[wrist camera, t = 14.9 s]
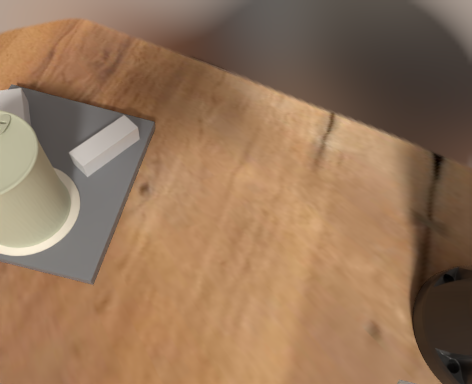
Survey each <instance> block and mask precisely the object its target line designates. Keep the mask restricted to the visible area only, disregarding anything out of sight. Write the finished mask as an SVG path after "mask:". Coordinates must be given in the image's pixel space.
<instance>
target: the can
mask: <svg viewBox="0 0 472 384" xmlns="http://www.w3.org/2000/svg"><path fill="white" fill-rule="evenodd" d="M70 207H71V199H70V194H69V192H68V189H67V188H66V186H65V185H64V183H63V182H62V181H61V180H60V179H59V177H58V175H57V174H56V172H55V170H54V168H53V167H52V165H51V163H50V161H49V159H48V158H47V156H46V154H45V152H44V150H43V148H42V147H41V145H40V143H39V141H38V139H37V136H36V134H35V132H34V130H33V129H32V127H31V126H30V125H29V124H28V123H27V122H26V121H25V120H23V119H22V118H20V117H19V116H17V115H15V114H12V113H10V112H6V111H2V110H0V245H3V246H6V247H12V248H24V247H30V246H34V245H37V244H40V243H42V242H44V241H46V240H47V239H49V238H51V237H52V236H53V235H54V234H56V233H57V232H58V231H59V230H60V229H61V227H62V226H63V225H64V223H65V222H66V220H67V218H68V215H69V212H70Z"/></svg>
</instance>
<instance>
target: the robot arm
mask: <svg viewBox="0 0 472 384" xmlns="http://www.w3.org/2000/svg"><path fill="white" fill-rule="evenodd" d="M413 324H414V331H415V336H416V340H417V343H418V346H419V349H420V351H421V353H422V355H423V357H424V359H425V361H426V363H427V365H428V366H429V368H430V369H431V371H432V372H433V373H434V375H435V376H436V377H437V378H438V379H439V380H440V381H441V383H442V384H472V266H458V267H453V268H450V269H448V270H445V271H443V272H440V273H438V274H436V275H434V276H433V277H431V278H430V279H429V280H428V281H427V282H426V283H425V284H424V285H423V286H422V288H421V289H420V291H419V293H418V295H417V298H416V301H415V305H414V312H413ZM397 384H415V383H411V382H407V381H403V380H399V381H398V383H397Z"/></svg>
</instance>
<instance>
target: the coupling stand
mask: <svg viewBox="0 0 472 384" xmlns="http://www.w3.org/2000/svg"><path fill="white" fill-rule="evenodd" d="M0 110H2V111H6V112H10V113H12V114H15V115H17V116H19V117H20V118H22V119H23V120H25V121H26V122H27V123H28V124H29V125H30V126H31V127H32V129H33V130H34V132H35V134H36V136H37V139H38V141H39V143H40V145H41V147H42V148H43V150H44V152H45V154H46V156H47V158H48V159H49V161H50V163H51V165H52V167H53V168H54V170H55V172H56V174H57V175H58V177H59V179H60V180H61V181H62V182H63V183H64V185H65V186H66V188H67V189H68V192H69V194H70V199H71V207H70V212H69V215H68V218H67V220H66V222H65V223H64V225H63V226H62V227H61V229H60V230H59V231H58V232H57V233H56V234H54V235H53V236H52V237H51V238H49V239H47V240H46V241H44V242H42V243H40V244H37V245H34V246H30V247H24V248H12V247H6V246H3V245H0V261H1V262H5V263H9V264H13V265H17V266H21V267H25V268H29V269H33V270H37V271H41V272H45V273H49V274H53V275H57V276H61V277H65V278H69V279H73V280H77V281H81V282H85V283H89V284H94V282H95V279H96V277H97V274H98V272H99V269H100V267H101V264H102V262H103V259H104V257H105V254H106V252H107V249H108V247H109V244H110V241H111V239H112V236H113V234H114V231H115V229H116V226H117V224H118V221H119V219H120V216H121V214H122V211H123V209H124V206H125V204H126V201H127V198H128V196H129V193H130V191H131V188H132V186H133V183H134V181H135V178H136V176H137V173H138V171H139V168H140V166H141V163H142V161H143V158H144V155H145V153H146V150H147V148H148V145H149V143H150V140H151V138H152V135H153V133H154V130H155V122H153V121H149V120H146V119H142V118H138V117H134V116H130V115H126V114H123V113H119V112H115V111H111V110H107V109H104V108H100V107H96V106H92V105H88V104H84V103H81V102H77V101H73V100H69V99H65V98H61V97H58V96H54V95H50V94H46V93H42V92H39V91H35V90H31V89H27V88H23V87H19V86H16V85H11V86H10V88H9V89H8V90H2V91H0Z"/></svg>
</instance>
